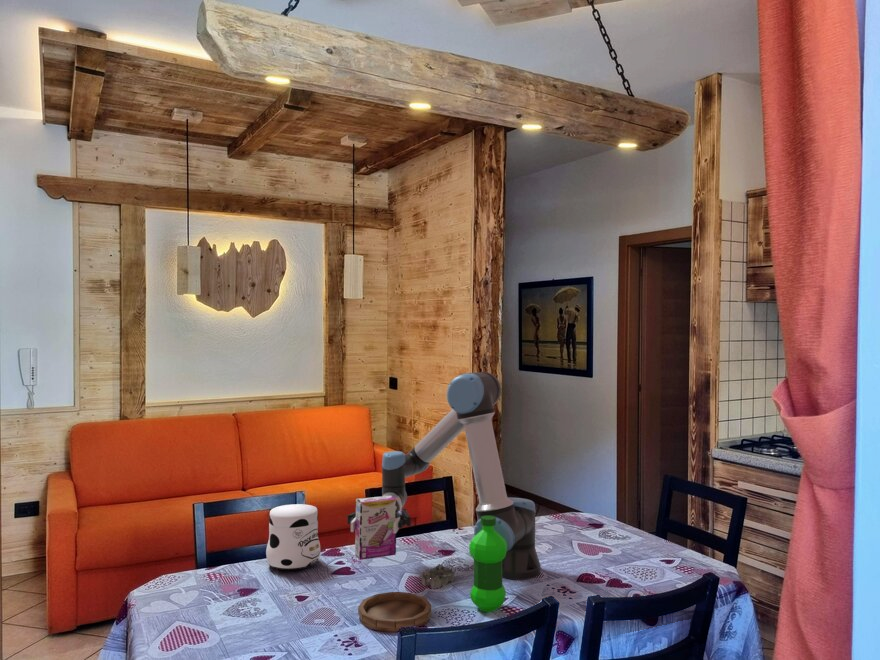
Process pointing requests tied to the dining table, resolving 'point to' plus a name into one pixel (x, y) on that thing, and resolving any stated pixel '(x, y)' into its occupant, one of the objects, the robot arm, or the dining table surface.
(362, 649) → the dining table surface
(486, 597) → the plastic bottle
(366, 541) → the candy bar box
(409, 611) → the tray
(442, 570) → the egg carton
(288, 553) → the milk container
